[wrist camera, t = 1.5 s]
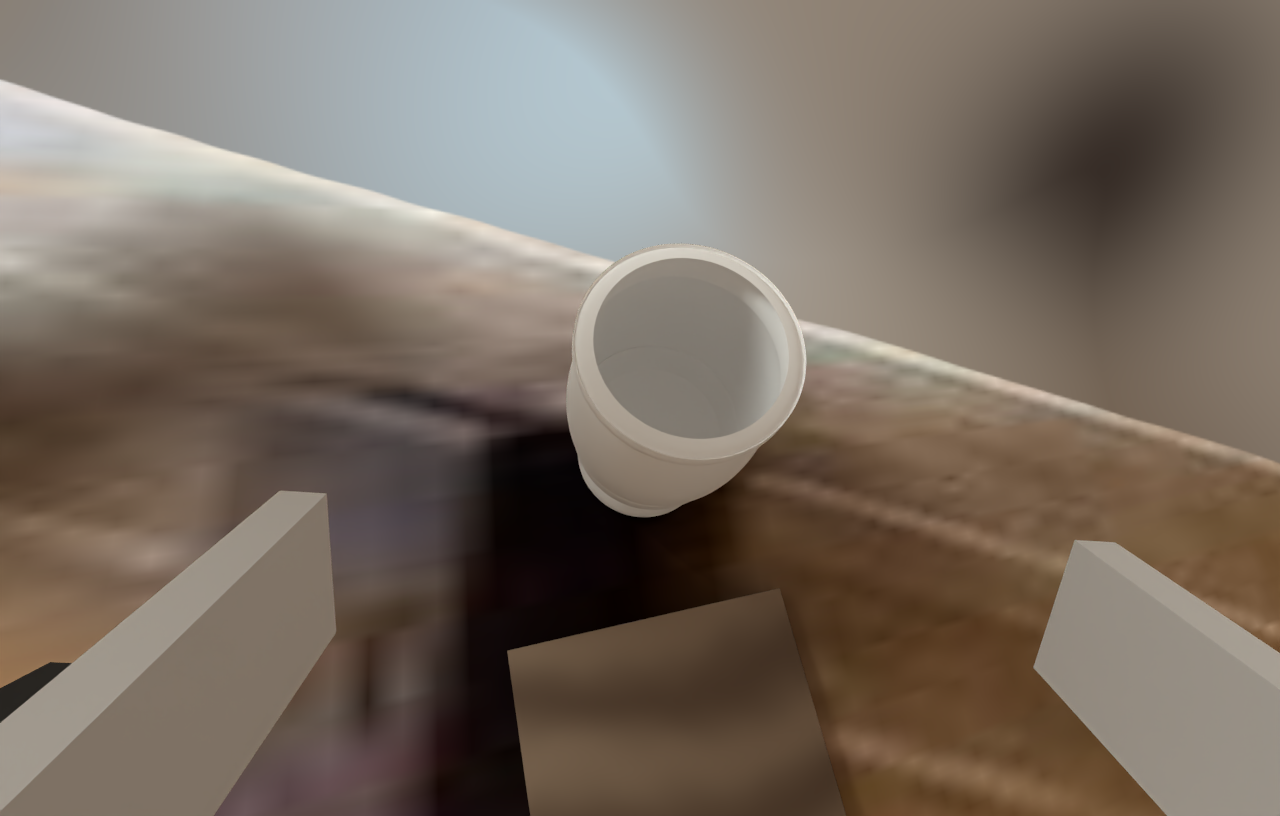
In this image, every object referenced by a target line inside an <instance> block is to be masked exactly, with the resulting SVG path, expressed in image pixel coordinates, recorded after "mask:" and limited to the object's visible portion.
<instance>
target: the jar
mask: <svg viewBox="0 0 1280 816" xmlns="http://www.w3.org/2000/svg"><path fill="white" fill-rule="evenodd" d="M572 359H573V360H572V364H571V367H570V372H569V377H568V383H567V393H566V409H567V419H568V425H569V430H570V434H571V437H572V440H573V443H574V446H575V448H576V452H577V455H578V462H579V467H580V470H581V473H582V476H583V478H584V480H585V482H586V484H587V486H588V487H589V489H590V490H591V491H592V493H593V494H594V495H595V496H596V497H597V498H598V499H599V500H600V501H601V502H602V503H604V504H605V505H606V506H608V507H610V508H611V509H613V510H615V511H617V512H620V513H622V514H625V515H629V516H634V517H654V516H659V515H663V514H666V513H668V512H671V511H673V510H675V509H677V508H678V507H680V506H681V505H683V504H686V503H688V502H690V501H693V500H696V499H699V498H701V497H703V496H706V495H708V494H710V493H711V492H713V491H715V490H717V489H718V488H720V487H721V486H723V485H724V484H725V483H727V482H728V481H729V480H731V479H732V478H733V477H734V476H735V475H736V474H737V473H738V472H739V471H740V470H741V469H742V468H743V467H744V466H745V465H746V464H747V463H748V461H749V460H750V459H751V458H752V456H753V455H754V454H755V452H756V451H757V449H758V448H759V447H760V446H761V445H763V444H764V443H765V442H767V441H768V440H769V439H770V438H771V437H772V436H773V435H774V434H775V433H776V432H777V431H778V430H779V429H780V428H781V427H782V425H783V424H784V423H785V421H786V420H787V419H788V417H789V416H790V414H791V413H792V411H793V410H794V408H795V406H796V404H797V402H798V400H799V397H800V395H801V392H802V388H803V385H804V380H805V373H806V350H805V343H804V339H803V335H802V331H801V328H800V325H799V323H798V320H797V318H796V316H795V314H794V312H793V310H792V308H791V307H790V305H789V303H788V302H787V300H786V299H785V297H784V296H783V295H782V293H781V292H780V291H779V290H778V289H777V287H776V286H775V285H774V284H773V283H772V282H771V281H770V280H769V279H767V277H765V276H764V275H763V274H762V273H761V272H759V271H758V270H757V269H755V268H754V267H752V266H751V265H749V264H748V263H746V262H744V261H743V260H741V259H739V258H737V257H735V256H733V255H731V254H728V253H726V252H723V251H720V250H717V249H714V248H710V247H706V246H700V245H693V244H664V245H657V246H653V247H649V248H645V249H642V250H639V251H636V252H634V253H631V254H629V255H627V256H625V257H623V258H621V259H620V260H618V261H617V262H615V263H614V264H612V265H611V266H610V267H608V268H607V269H606V270H605V271H604V272H603V273H602V274H601V275H600V276H599V277H598V278H597V279H596V280H595V281H594V283H593V284H592V285H591V287H590V288H589V290H588V291H587V293H586V294H585V296H584V298H583V300H582V302H581V305H580V307H579V310H578V313H577V316H576V320H575V325H574V331H573V338H572Z"/></svg>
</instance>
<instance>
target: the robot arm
mask: <svg viewBox="0 0 1280 816" xmlns="http://www.w3.org/2000/svg"><path fill="white" fill-rule="evenodd" d="M335 633H336V622H335V608H334V593H333V579H332V564H331V550H330V535H329V520H328V506H327V494H326V493H310V492H294V491H279V492H278V493H276V494H275V495H274V496H273V497H272V498H270V499H269V500H268V501H267V502H266V503H264V504H263V505H262V506H261V507H260V508H258V509H257V510H256V511H255V512H254V513H252V514H251V515H250V516H249V517H248V518H246V519H245V520H244V521H243V522H242V523H240V524H239V525H238V526H237V527H235V528H234V529H233V530H232V531H231V532H229V533H228V534H227V535H226V536H225V537H223V538H222V539H221V540H220V541H219V542H217V543H216V544H215V545H214V546H213V547H211V548H210V549H209V550H208V551H207V552H205V553H204V554H203V555H202V556H201V557H199V558H198V559H197V560H196V561H195V562H193V563H192V564H191V565H190V566H189V567H187V568H186V569H185V570H184V571H183V572H181V573H180V574H179V575H178V576H177V577H175V578H174V579H173V580H172V581H171V582H169V583H168V584H167V585H166V586H164V587H163V588H162V589H161V590H160V591H158V592H157V593H156V594H155V595H154V596H152V597H151V598H150V599H149V600H148V601H146V602H145V603H144V604H143V605H142V606H140V607H139V608H138V609H137V610H136V611H134V612H133V613H132V614H131V615H130V616H128V617H127V618H126V619H125V620H124V621H122V622H121V623H120V624H119V625H118V626H116V627H115V628H114V629H113V630H112V631H110V632H109V633H108V634H107V635H106V636H104V637H103V638H102V639H101V640H100V641H98V642H97V643H96V644H95V645H93V646H92V647H91V648H90V649H89V650H87V651H86V652H85V653H84V654H83V655H81V656H80V657H79V658H78V659H77V660H75V661H74V662H73V663H54V662H50V663H48V664H46V665H44V666H42V667H40V668H39V669H37V670H35V671H33V672H31V673H29V674H27V675H25V676H23V677H21V678H19V679H17V680H15V681H14V682H12V683H10V684H8V685H6V686H4V687H2V688H0V816H214V814H215V813H216V811H217V810H218V808H219V807H220V805H221V804H222V802H223V801H224V799H225V798H226V796H227V795H228V793H229V792H230V790H231V789H232V787H233V786H234V784H235V783H236V781H237V780H238V778H239V777H240V775H241V774H242V772H243V771H244V769H245V768H246V766H247V765H248V763H249V762H250V761H251V759H252V758H253V756H254V755H255V753H256V752H257V750H258V749H259V747H260V746H261V744H262V743H263V741H264V740H265V738H266V737H267V735H268V734H269V732H270V731H271V729H272V728H273V726H274V725H275V723H276V722H277V720H278V719H279V717H280V716H281V714H282V713H283V711H284V710H285V708H286V707H287V705H288V704H289V702H290V701H291V699H292V698H293V696H294V695H295V693H296V692H297V690H298V689H299V687H300V686H301V684H302V683H303V681H304V680H305V678H306V677H307V675H308V674H309V672H310V671H311V669H312V668H313V666H314V665H315V663H316V662H317V660H318V659H319V657H320V656H321V654H322V653H323V651H324V650H325V648H326V647H327V645H328V644H329V642H330V641H331V639H332V638H333V636H334V635H335ZM1033 668H1034V669H1035V670H1036V671H1037V672H1038V673H1039V674H1040V675H1041V676H1042V678H1043V679H1044V680H1045V681H1046V682H1047V683H1048V684H1049V685H1050V686H1051V688H1052V689H1053V690H1054V691H1055V692H1056V693H1057V694H1058V695H1059V696H1060V698H1061V699H1062V700H1063V701H1064V702H1065V703H1066V704H1067V705H1068V706H1069V707H1070V709H1071V710H1072V711H1073V712H1074V713H1075V714H1076V715H1077V716H1078V717H1079V719H1080V720H1081V721H1082V722H1083V723H1084V724H1085V725H1086V726H1087V727H1088V729H1089V730H1090V731H1091V732H1092V733H1093V734H1094V735H1095V736H1096V737H1097V739H1098V740H1099V741H1100V742H1101V743H1102V744H1103V745H1104V746H1105V747H1106V748H1107V750H1108V751H1109V752H1110V753H1111V754H1112V755H1113V756H1114V757H1115V758H1116V760H1117V761H1118V762H1119V763H1120V764H1121V765H1122V766H1123V767H1124V768H1125V770H1126V771H1127V772H1128V773H1129V774H1130V775H1131V776H1132V777H1133V778H1134V780H1135V781H1136V782H1137V783H1138V784H1139V785H1140V786H1141V787H1142V788H1143V790H1144V791H1145V792H1146V793H1147V794H1148V795H1149V796H1150V797H1151V798H1152V799H1153V801H1154V802H1155V803H1156V804H1157V805H1158V806H1159V807H1160V808H1161V809H1162V811H1163V812H1164V813H1165V814H1166V815H1167V816H1280V653H1279V652H1277V651H1276V650H1274V649H1273V648H1271V647H1270V646H1268V645H1267V644H1265V643H1264V642H1262V641H1261V640H1259V639H1258V638H1256V637H1255V636H1253V635H1252V634H1250V633H1249V632H1247V631H1246V630H1244V629H1243V628H1241V627H1240V626H1238V625H1237V624H1236V623H1234V622H1233V621H1231V620H1230V619H1228V618H1227V617H1225V616H1224V615H1222V614H1221V613H1219V612H1218V611H1216V610H1215V609H1213V608H1212V607H1210V606H1209V605H1207V604H1206V603H1204V602H1203V601H1201V600H1200V599H1198V598H1197V597H1195V596H1194V595H1192V594H1191V593H1189V592H1188V591H1187V590H1185V589H1184V588H1182V587H1181V586H1179V585H1178V584H1176V583H1175V582H1173V581H1172V580H1170V579H1169V578H1167V577H1166V576H1164V575H1163V574H1161V573H1160V572H1158V571H1157V570H1155V569H1154V568H1152V567H1151V566H1149V565H1148V564H1146V563H1145V562H1143V561H1142V560H1140V559H1139V558H1137V557H1136V556H1135V555H1133V554H1132V553H1130V552H1129V551H1127V550H1126V549H1124V548H1123V547H1121V546H1120V545H1118V544H1117V543H1114V542H1098V541H1082V540H1074V544H1073V547H1072V550H1071V553H1070V556H1069V559H1068V562H1067V565H1066V568H1065V571H1064V574H1063V578H1062V581H1061V584H1060V587H1059V590H1058V593H1057V596H1056V599H1055V602H1054V605H1053V608H1052V611H1051V615H1050V618H1049V621H1048V624H1047V627H1046V630H1045V633H1044V636H1043V639H1042V642H1041V645H1040V649H1039V652H1038V655H1037V658H1036V661H1035V664H1034V667H1033Z"/></svg>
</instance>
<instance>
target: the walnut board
mask: <svg viewBox="0 0 1280 816" xmlns="http://www.w3.org/2000/svg"><path fill="white" fill-rule="evenodd" d="M507 653H508V660H509V667H510V674H511V681H512V688H513V695H514V702H515V710H516V717H517V724H518V731H519V738H520V745H521V752H522V760H523V767H524V774H525V781H526V788H527V795H528V802H529V809H530V816H846V813H845V810H844V806H843V803H842V800H841V796H840V793H839V789H838V786H837V782H836V779H835V776H834V772H833V769H832V765H831V762H830V759H829V755H828V752H827V748H826V745H825V741H824V738H823V735H822V731H821V728H820V724H819V721H818V718H817V714H816V711H815V707H814V704H813V700H812V697H811V694H810V690H809V687H808V683H807V680H806V676H805V673H804V670H803V666H802V663H801V659H800V656H799V653H798V649H797V646H796V642H795V639H794V635H793V632H792V629H791V625H790V622H789V618H788V615H787V612H786V608H785V605H784V601H783V598H782V594H781V591H780V588H778V589H773V590H769V591H765V592H760V593H756V594H752V595H747V596H743V597H739V598H734V599H730V600H726V601H721V602H717V603H713V604H708V605H704V606H700V607H695V608H691V609H687V610H682V611H678V612H674V613H669V614H665V615H660V616H656V617H652V618H647V619H643V620H639V621H634V622H630V623H626V624H621V625H617V626H613V627H608V628H604V629H600V630H595V631H591V632H587V633H582V634H578V635H574V636H569V637H565V638H561V639H556V640H552V641H548V642H543V643H539V644H535V645H530V646H526V647H522V648H517V649H513V650H509V651H507Z"/></svg>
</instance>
